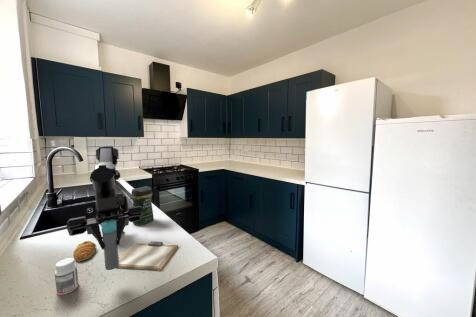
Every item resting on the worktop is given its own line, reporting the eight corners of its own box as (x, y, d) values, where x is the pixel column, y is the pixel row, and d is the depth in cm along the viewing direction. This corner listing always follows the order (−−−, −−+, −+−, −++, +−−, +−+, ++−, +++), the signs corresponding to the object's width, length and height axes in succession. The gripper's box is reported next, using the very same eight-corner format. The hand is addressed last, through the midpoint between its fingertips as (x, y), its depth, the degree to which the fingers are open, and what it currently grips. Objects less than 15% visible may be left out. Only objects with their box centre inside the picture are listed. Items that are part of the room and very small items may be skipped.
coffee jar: (140, 227, 95) (137, 190, 93) (130, 224, 99) (127, 188, 97) (156, 219, 103) (154, 186, 101) (146, 217, 107) (144, 184, 105)
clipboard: (110, 267, 65) (109, 262, 65) (136, 244, 79) (136, 240, 79) (160, 270, 63) (160, 265, 63) (178, 246, 77) (178, 242, 77)
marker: (101, 269, 55) (97, 224, 54) (111, 261, 59) (107, 219, 57) (113, 270, 55) (109, 225, 54) (122, 262, 58) (119, 219, 57)
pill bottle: (65, 283, 58) (62, 257, 57) (82, 282, 58) (79, 256, 58) (52, 296, 53) (48, 267, 52) (70, 294, 54) (67, 266, 53)
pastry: (95, 258, 70) (94, 248, 70) (71, 265, 67) (70, 255, 66) (96, 247, 78) (95, 238, 78) (74, 252, 74) (73, 243, 74)
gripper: (64, 191, 52) (61, 248, 44) (140, 181, 63) (149, 226, 55) (70, 210, 59) (69, 262, 52) (137, 199, 70) (145, 240, 62)
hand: (110, 247), depth 55 cm, fingers closed on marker, 3 cm apart
